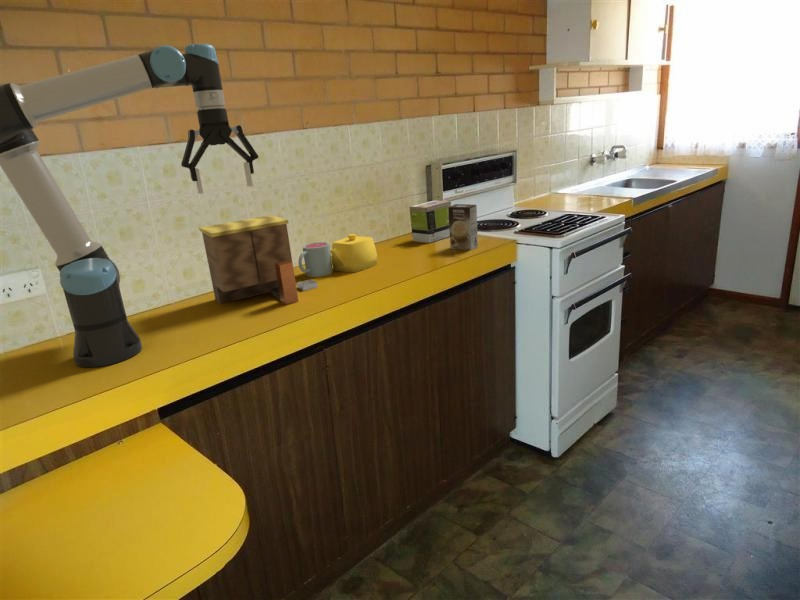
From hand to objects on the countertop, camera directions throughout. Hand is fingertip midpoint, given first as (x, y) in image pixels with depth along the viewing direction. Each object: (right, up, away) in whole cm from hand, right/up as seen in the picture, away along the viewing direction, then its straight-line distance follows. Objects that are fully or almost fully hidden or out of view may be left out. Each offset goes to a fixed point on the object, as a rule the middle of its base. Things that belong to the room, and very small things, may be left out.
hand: (226, 189), depth 157 cm
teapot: (+31, -19, +46) cm, 59 cm away
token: (+18, -27, +27) cm, 42 cm away
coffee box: (+72, -11, +60) cm, 94 cm away
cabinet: (+2, -29, +23) cm, 37 cm away
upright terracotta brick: (+12, -30, +18) cm, 37 cm away
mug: (+18, -22, +41) cm, 50 cm away
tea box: (+62, -5, +80) cm, 101 cm away
